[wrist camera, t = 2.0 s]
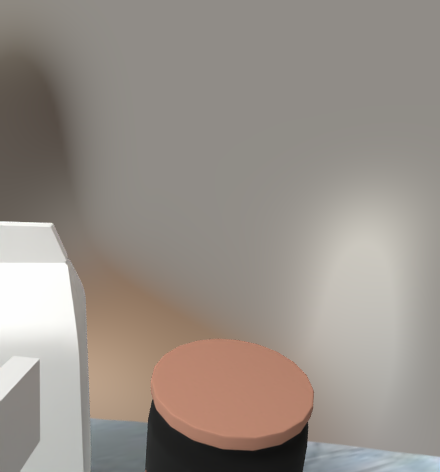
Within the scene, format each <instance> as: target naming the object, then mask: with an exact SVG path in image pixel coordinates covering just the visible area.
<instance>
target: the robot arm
mask: <svg viewBox="0 0 440 472" xmlns="http://www.w3.org/2000/svg"><path fill="white" fill-rule="evenodd" d="M39 442H40V359H38V358H28V357H19V356H13V357H12V358H10V359H9V360H8V361H7V362H6V363H5V364H4V365H3V366H2V367H1V368H0V472H20V471H21V469H22V468H23V466H24V465H25V463H26V462H27V460H28V459H29V457H30V455H31V454H32V452H33V451H34V449H35V448H36V446H37V445H38V443H39Z"/></svg>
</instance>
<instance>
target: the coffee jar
mask: <svg viewBox="0 0 440 472" xmlns="http://www.w3.org/2000/svg"><path fill="white" fill-rule="evenodd" d="M151 393H152V397H153V400H152V403H151V408H150V413H149V418H148V432H147V449H146V466H145V472H303V466H304V460H305V454H306V449H307V439H308V420H309V419H310V417H311V413H312V410H313V398H314V391H313V388H312V386H311V384H310V382H309V380H308V377H307V375H306V374H305V373H304V372H303V371H302V370H301V369H300V368H299V367H298V366H297V365H296V364H295V363H294V362H293V361H291V360H289V359H287V358H286V357H285V356H283V355H281V354H280V353H278V352H276V351H273V350H271V349H268V348H266V347H263V346H261V345H258V344H254V343H249V342H245V341H240V340H230V339H209V340H199V341H194V342H191V343H188V344H184V345H181V346H178V347H177V348H175V349H173V350H172V351H170V352H168V353H166V354H165V355H164V356H163V357H162V358H161V360H160V361H159V362H158V363H157V364H156V366H155V367H154V371H153V375H152V379H151Z"/></svg>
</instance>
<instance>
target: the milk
mask: <svg viewBox="0 0 440 472" xmlns="http://www.w3.org/2000/svg"><path fill="white" fill-rule="evenodd" d="M67 256H68V255H67V252H66V250H65V248H64V246H63V244H62V242H61V239H60V237H59V235H58V233H57V231H56V229H55V226H54V224H53V223H32V222H0V368H1V367H2V366H3V365H4V364H5V363H6V362H7V361H8V360H9V359H10V358H12V357H13V356H19V357H28V358H38V359H40V442H39V443H38V445H37V446H36V448H35V449H34V451H33V452H32V454H31V455H30V457H29V459H28V460H27V462H26V463H25V465H24V466H23V468H22V469H21V471H20V472H91V431H90V405H89V379H88V378H89V377H88V350H87V325H86V300H85V292H84V288H83V285H82V283H81V281H80V279H79V277H78V275H77V273H76V271H75V269H74V267H73V265H72V263H71V261H70V259H68V258H67Z"/></svg>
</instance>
